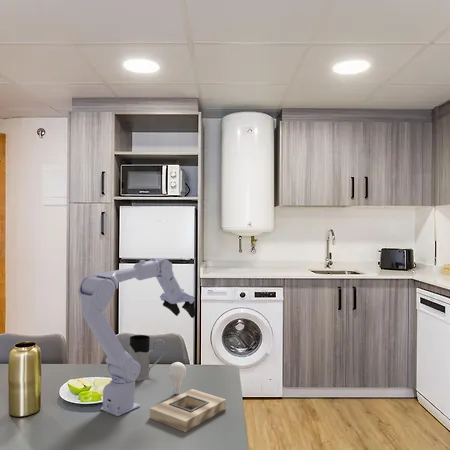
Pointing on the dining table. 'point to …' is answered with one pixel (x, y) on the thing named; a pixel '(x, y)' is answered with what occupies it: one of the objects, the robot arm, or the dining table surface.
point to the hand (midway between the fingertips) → (185, 314)
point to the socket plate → (184, 418)
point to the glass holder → (142, 354)
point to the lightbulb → (177, 376)
